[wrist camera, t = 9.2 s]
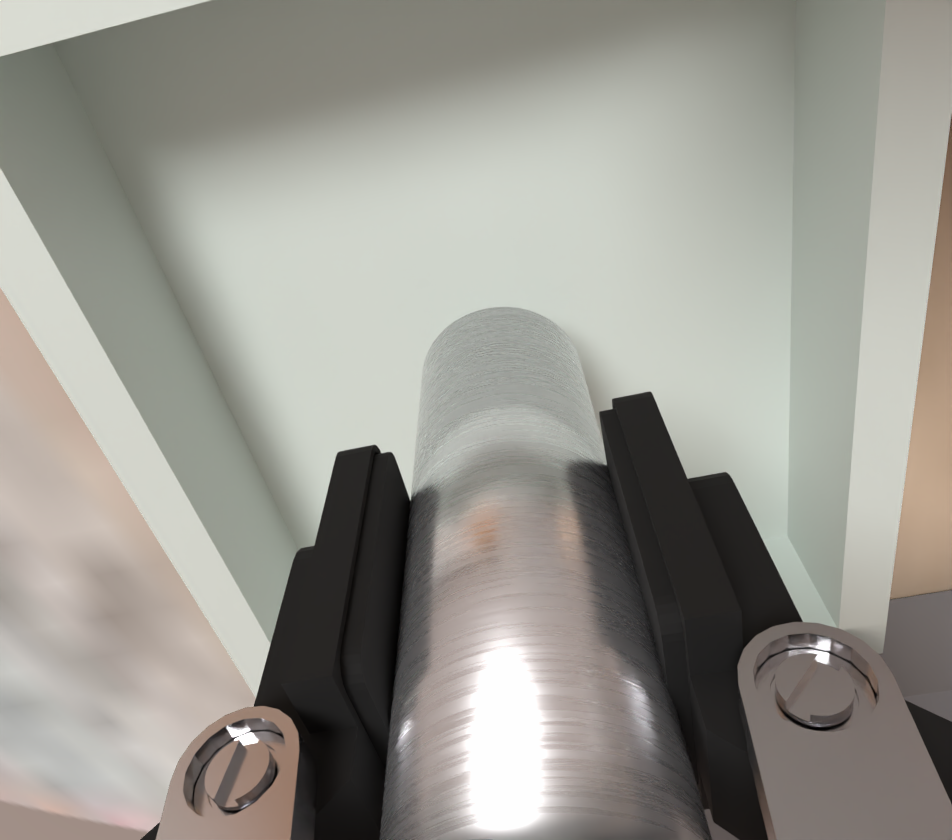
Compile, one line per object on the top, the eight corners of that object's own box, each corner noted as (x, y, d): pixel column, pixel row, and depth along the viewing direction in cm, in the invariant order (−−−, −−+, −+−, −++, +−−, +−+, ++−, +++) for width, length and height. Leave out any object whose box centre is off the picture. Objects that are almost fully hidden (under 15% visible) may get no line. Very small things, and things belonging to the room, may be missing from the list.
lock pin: (568, 291, 13) (717, 791, 5) (591, 429, 14) (729, 962, 7) (403, 325, 13) (324, 844, 6) (443, 457, 15) (423, 996, 7)
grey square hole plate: (994, 583, 21) (1067, 673, 18) (940, 809, 27) (989, 898, 25) (569, 650, 22) (583, 743, 19) (615, 851, 28) (630, 939, 26)
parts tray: (848, -254, 11) (1008, -330, 8) (814, 536, 20) (882, 653, 16) (-12, -13, 12) (-176, 4, 9) (311, 620, 21) (284, 743, 18)
